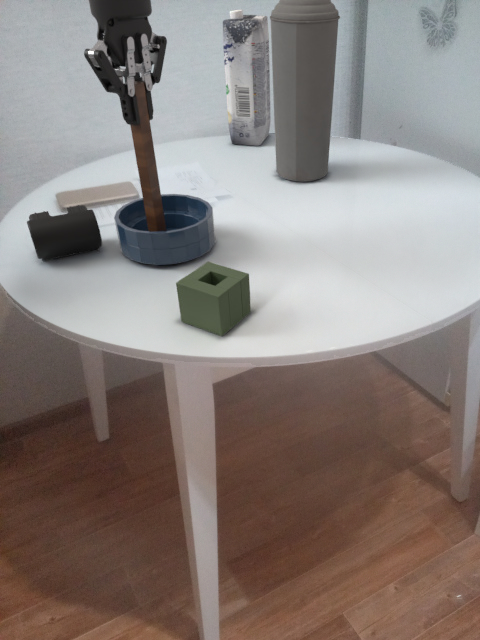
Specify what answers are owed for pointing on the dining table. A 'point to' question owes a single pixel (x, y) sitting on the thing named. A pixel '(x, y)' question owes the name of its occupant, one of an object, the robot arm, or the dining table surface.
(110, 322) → the dining table surface
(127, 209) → the bowl
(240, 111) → the juice carton
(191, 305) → the holder
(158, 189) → the stick
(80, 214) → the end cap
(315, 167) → the canister
